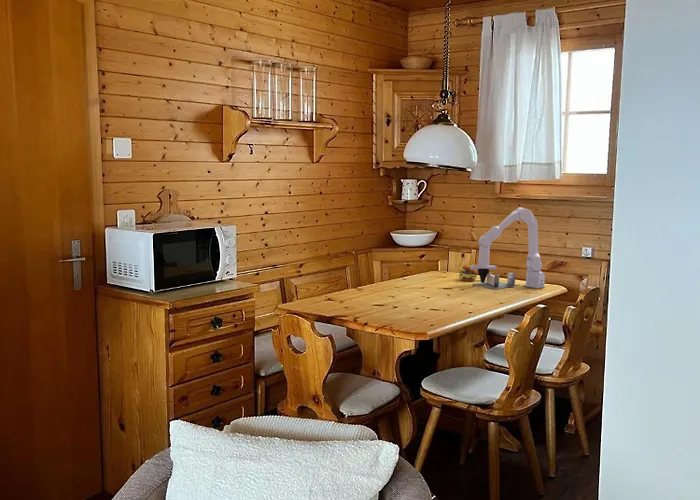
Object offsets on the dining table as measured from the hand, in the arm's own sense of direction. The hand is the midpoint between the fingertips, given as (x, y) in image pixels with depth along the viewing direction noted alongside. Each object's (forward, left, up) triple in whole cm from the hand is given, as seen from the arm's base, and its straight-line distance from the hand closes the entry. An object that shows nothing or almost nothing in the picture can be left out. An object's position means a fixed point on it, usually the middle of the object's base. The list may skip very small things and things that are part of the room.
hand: (482, 282), depth 382 cm
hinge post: (-10, 0, -2) cm, 10 cm away
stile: (-11, -11, -1) cm, 15 cm away
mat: (-5, -5, -2) cm, 7 cm away
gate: (-4, -3, -1) cm, 5 cm away
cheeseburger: (+15, -5, -2) cm, 16 cm away
